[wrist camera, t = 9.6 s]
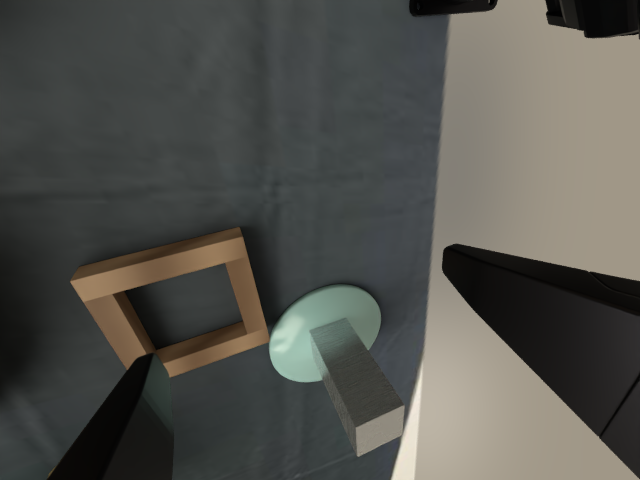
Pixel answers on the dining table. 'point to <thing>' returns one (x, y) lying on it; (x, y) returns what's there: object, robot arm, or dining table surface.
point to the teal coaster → (314, 311)
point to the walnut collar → (162, 263)
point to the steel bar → (356, 386)
